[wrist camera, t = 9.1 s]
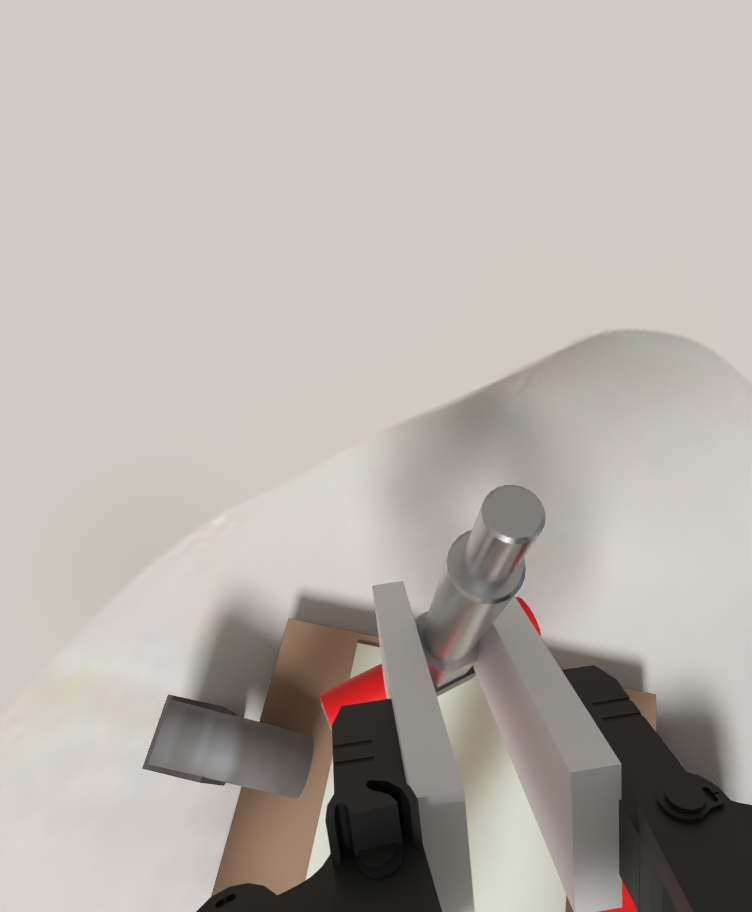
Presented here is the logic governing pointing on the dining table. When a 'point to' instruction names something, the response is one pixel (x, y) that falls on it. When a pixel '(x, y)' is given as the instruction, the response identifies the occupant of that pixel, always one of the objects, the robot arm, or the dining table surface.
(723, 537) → the dining table surface
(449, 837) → the robot arm
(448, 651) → the tow hook
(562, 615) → the dining table surface
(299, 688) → the shaft stand
